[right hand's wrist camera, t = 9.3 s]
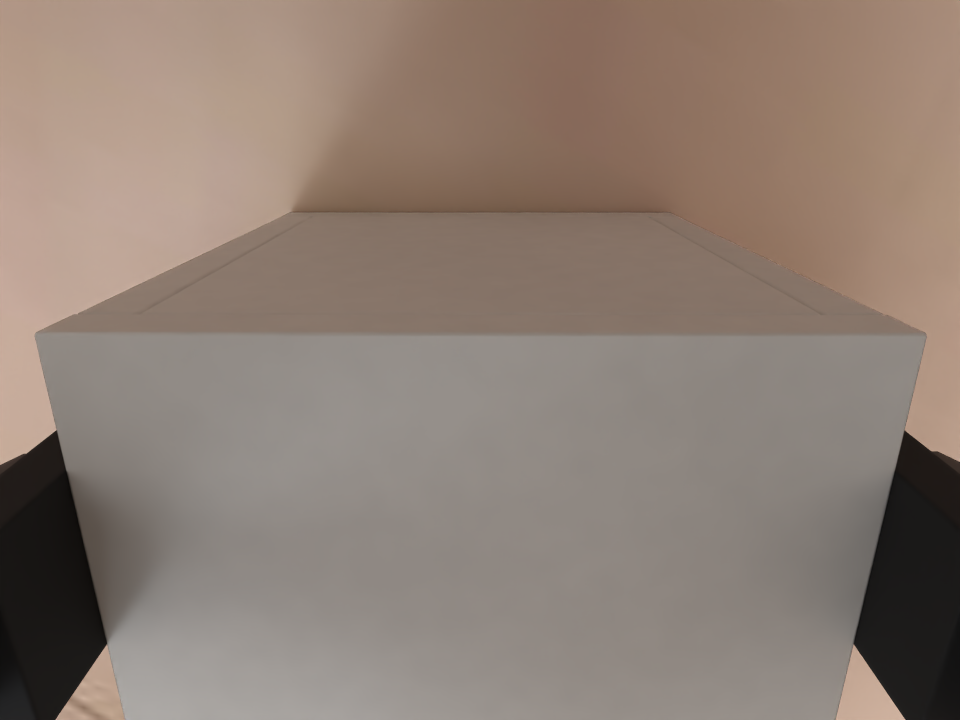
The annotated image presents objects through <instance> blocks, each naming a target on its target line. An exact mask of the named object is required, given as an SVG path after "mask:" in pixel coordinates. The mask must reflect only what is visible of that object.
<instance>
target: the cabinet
mask: <svg viewBox="0 0 960 720" xmlns="http://www.w3.org/2000/svg"><path fill="white" fill-rule="evenodd" d="M926 337H927V336H926V333H924V332H922V331H920V330H918V329H916V328H914V327H911V326H909V325H907V324H905V323H903V322H901V321H899V320H897V319H895V318H892V317H890V316H888V315H883V314H882V313H880V312H877V311H875V310H873V309H871V308H869V307H867V306H865V305H863V304H861V303H859V302H856V301H854V300H852V299H850V298H848V297H846V296H844V295H842V294H840V293H838V292H835V291H833V290H831V289H829V288H827V287H825V286H823V285H821V284H819V283H817V282H814V281H812V280H810V279H808V278H806V277H804V276H802V275H800V274H798V273H796V272H793V271H791V270H789V269H787V268H785V267H783V266H781V265H779V264H777V263H775V262H772V261H770V260H768V259H766V258H764V257H762V256H760V255H758V254H756V253H754V252H751V251H749V250H747V249H745V248H743V247H741V246H739V245H737V244H735V243H733V242H730V241H728V240H726V239H724V238H722V237H720V236H718V235H716V234H714V233H712V232H709V231H707V230H705V229H703V228H701V227H699V226H697V225H695V224H693V223H691V222H688V221H686V220H684V219H682V218H680V217H678V216H676V215H674V214H672V213H631V212H290V213H288V214H286V215H284V216H282V217H280V218H278V219H276V220H274V221H272V222H270V223H267V224H265V225H263V226H261V227H259V228H257V229H255V230H253V231H251V232H248V233H246V234H244V235H242V236H240V237H238V238H236V239H234V240H232V241H230V242H227V243H225V244H223V245H221V246H219V247H217V248H215V249H213V250H211V251H208V252H206V253H204V254H202V255H200V256H198V257H196V258H194V259H192V260H190V261H187V262H185V263H183V264H181V265H179V266H177V267H175V268H173V269H171V270H169V271H166V272H164V273H162V274H160V275H158V276H156V277H154V278H152V279H150V280H147V281H145V282H143V283H141V284H139V285H137V286H135V287H133V288H131V289H129V290H126V291H124V292H122V293H120V294H118V295H116V296H114V297H112V298H110V299H107V300H105V301H103V302H101V303H99V304H97V305H95V306H93V307H91V308H89V309H86V310H84V311H82V312H80V313H78V314H74V315H72V316H69V317H67V318H65V319H63V320H61V321H59V322H57V323H55V324H53V325H50V326H48V327H46V328H44V329H42V330H40V331H38V332H36V333H35V340H36V344H37V348H38V352H39V357H40V361H41V365H42V369H43V374H44V378H45V382H46V386H47V391H48V395H49V399H50V403H51V407H52V412H53V416H54V420H55V424H56V429H57V433H58V437H59V441H60V446H61V450H62V454H63V458H64V463H65V467H66V471H67V475H68V480H69V484H70V488H71V492H72V497H73V501H74V505H75V509H76V514H77V518H78V522H79V526H80V531H81V535H82V539H83V543H84V548H85V552H86V556H87V560H88V565H89V569H90V573H91V577H92V582H93V586H94V590H95V594H96V598H97V603H98V607H99V611H100V615H101V620H102V624H103V628H104V632H105V637H106V641H107V645H108V649H109V654H110V658H111V662H112V666H113V671H114V675H115V679H116V683H117V688H118V692H119V696H120V700H121V705H122V709H123V713H124V717H125V720H836V716H837V711H838V707H839V703H840V699H841V695H842V690H843V686H844V682H845V678H846V674H847V669H848V665H849V661H850V657H851V653H852V648H853V644H854V640H855V636H856V632H857V627H858V623H859V619H860V615H861V611H862V606H863V602H864V598H865V594H866V590H867V585H868V581H869V577H870V573H871V569H872V564H873V560H874V556H875V552H876V548H877V543H878V539H879V535H880V531H881V527H882V522H883V518H884V514H885V510H886V506H887V501H888V497H889V493H890V489H891V485H892V480H893V476H894V472H895V468H896V464H897V459H898V455H899V451H900V447H901V443H902V438H903V434H904V430H905V426H906V422H907V417H908V413H909V409H910V405H911V400H912V396H913V392H914V388H915V384H916V379H917V375H918V371H919V367H920V363H921V358H922V354H923V350H924V346H925V342H926Z"/></svg>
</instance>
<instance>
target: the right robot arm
mask: <svg viewBox="0 0 960 720" xmlns="http://www.w3.org/2000/svg"><path fill="white" fill-rule="evenodd" d="M106 645H107V641H106V637H105V632H104V628H103V624H102V620H101V615H100V611H99V607H98V603H97V598H96V594H95V590H94V586H93V582H92V577H91V573H90V569H89V565H88V560H87V556H86V552H85V548H84V543H83V539H82V535H81V531H80V526H79V522H78V518H77V514H76V509H75V505H74V501H73V497H72V492H71V488H70V484H69V480H68V475H67V471H66V467H65V463H64V458H63V454H62V450H61V446H60V441H59V437H58V433H57V430H56V431H55V432H54V433H52V434H51V435H50V436H49V437H47V438H46V439H45V440H44V441H42V442H41V443H40V444H38V445H37V446H36V447H35V448H33V449H32V450H31V451H30V452H28V453H27V454H23V455H20V456H18V457H16V458H14V459H12V460H10V461H8V462H6V463H4V464H2V465H0V720H55V719H56V718H57V716H58V715H59V713H60V712H61V710H62V709H63V708H64V706H65V705H66V703H67V702H68V700H69V699H70V697H71V696H72V694H73V693H74V691H75V690H76V689H77V687H78V686H79V684H80V683H81V681H82V680H83V678H84V677H85V675H86V674H87V672H88V671H89V669H90V668H91V667H92V665H93V664H94V662H95V661H96V659H97V658H98V656H99V655H100V653H101V652H102V650H103V649H104V648H105V646H106ZM854 645H855V646H856V648H857V649H858V651H859V652H860V654H861V655H862V657H863V658H864V660H865V661H866V663H867V664H868V666H869V667H870V668H871V670H872V671H873V673H874V674H875V676H876V677H877V679H878V680H879V682H880V683H881V685H882V686H883V687H884V689H885V690H886V692H887V693H888V695H889V696H890V698H891V699H892V701H893V702H894V704H895V705H896V706H897V708H898V709H899V711H900V712H901V714H902V715H903V717H904V718H905V720H960V462H958V461H956V460H954V459H952V458H950V457H948V456H946V455H944V454H942V453H940V452H931V451H930V450H929V449H927V448H926V447H925V446H924V445H922V444H921V443H920V442H919V441H917V440H916V439H915V438H913V437H912V436H911V435H910V434H908V433H907V432H906V431H904V434H903V438H902V443H901V447H900V451H899V455H898V459H897V464H896V468H895V472H894V476H893V480H892V485H891V489H890V493H889V497H888V501H887V506H886V510H885V514H884V518H883V522H882V527H881V531H880V535H879V539H878V543H877V548H876V552H875V556H874V560H873V564H872V569H871V573H870V577H869V581H868V585H867V590H866V594H865V598H864V602H863V606H862V611H861V615H860V619H859V623H858V627H857V632H856V636H855V640H854Z"/></svg>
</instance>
